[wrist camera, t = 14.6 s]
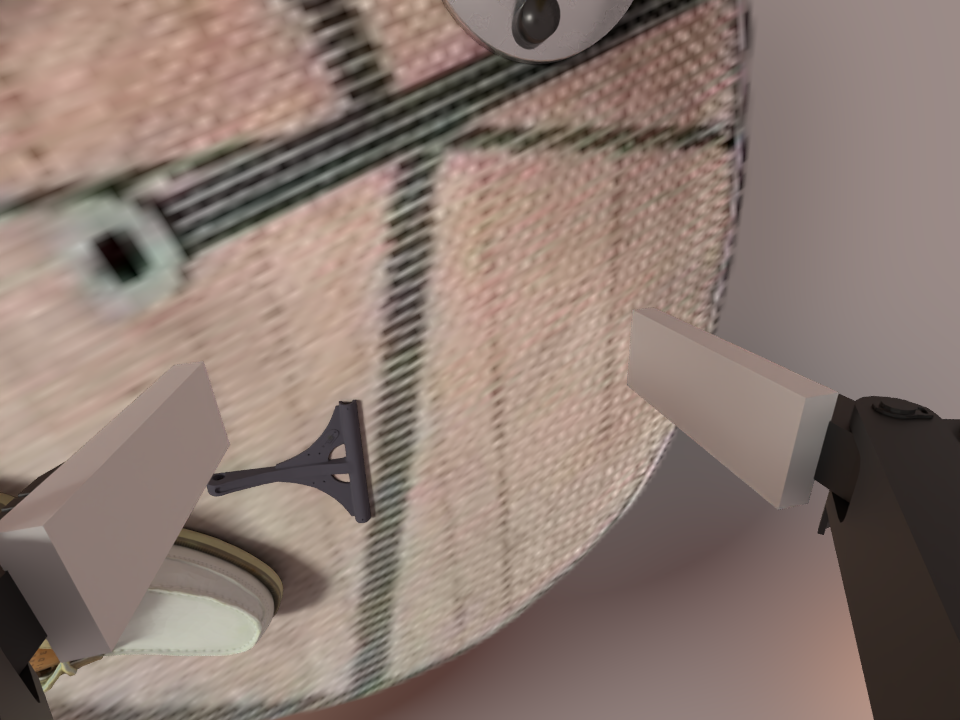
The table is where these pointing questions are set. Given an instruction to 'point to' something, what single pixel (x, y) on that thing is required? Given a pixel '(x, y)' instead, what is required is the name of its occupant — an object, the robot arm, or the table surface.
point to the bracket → (315, 467)
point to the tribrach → (536, 26)
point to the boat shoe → (189, 606)
